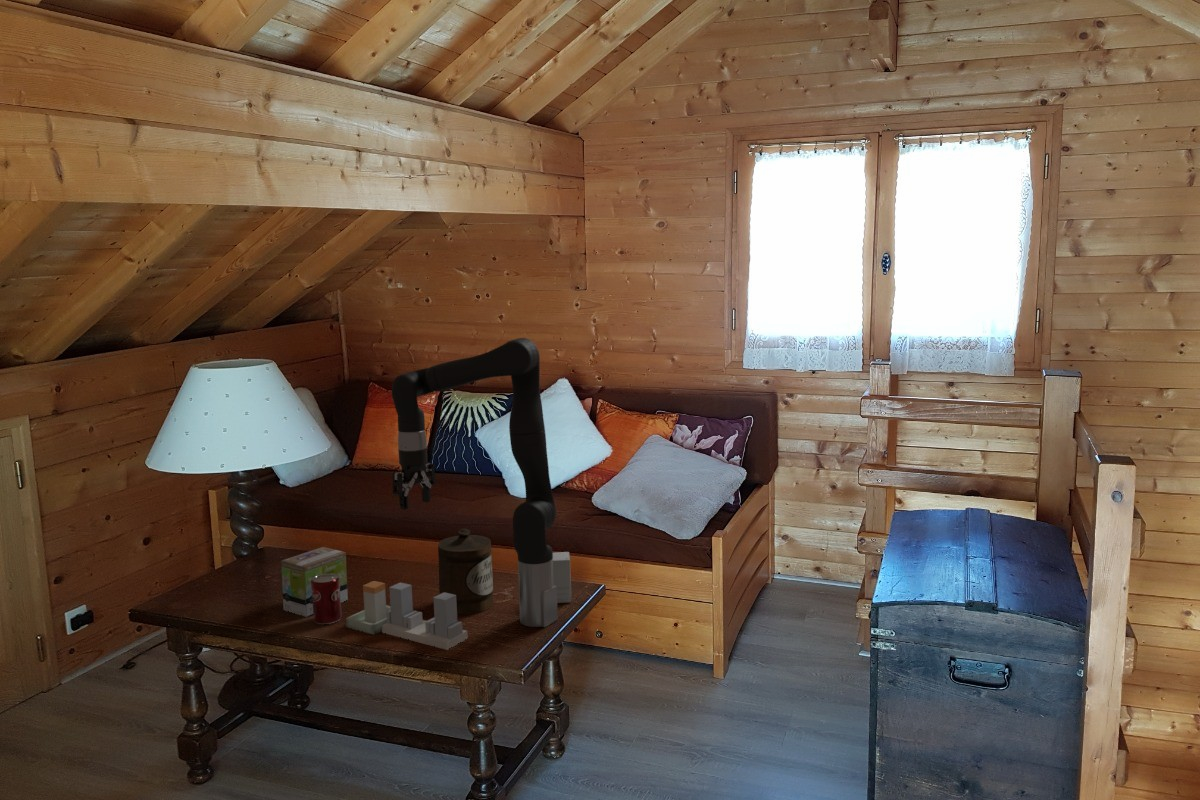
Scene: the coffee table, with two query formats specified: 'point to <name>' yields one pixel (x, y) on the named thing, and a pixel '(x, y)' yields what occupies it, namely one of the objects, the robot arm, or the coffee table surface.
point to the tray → (360, 624)
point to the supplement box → (562, 576)
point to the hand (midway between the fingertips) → (415, 505)
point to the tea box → (310, 577)
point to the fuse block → (411, 626)
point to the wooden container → (466, 571)
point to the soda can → (326, 598)
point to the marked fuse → (374, 601)
